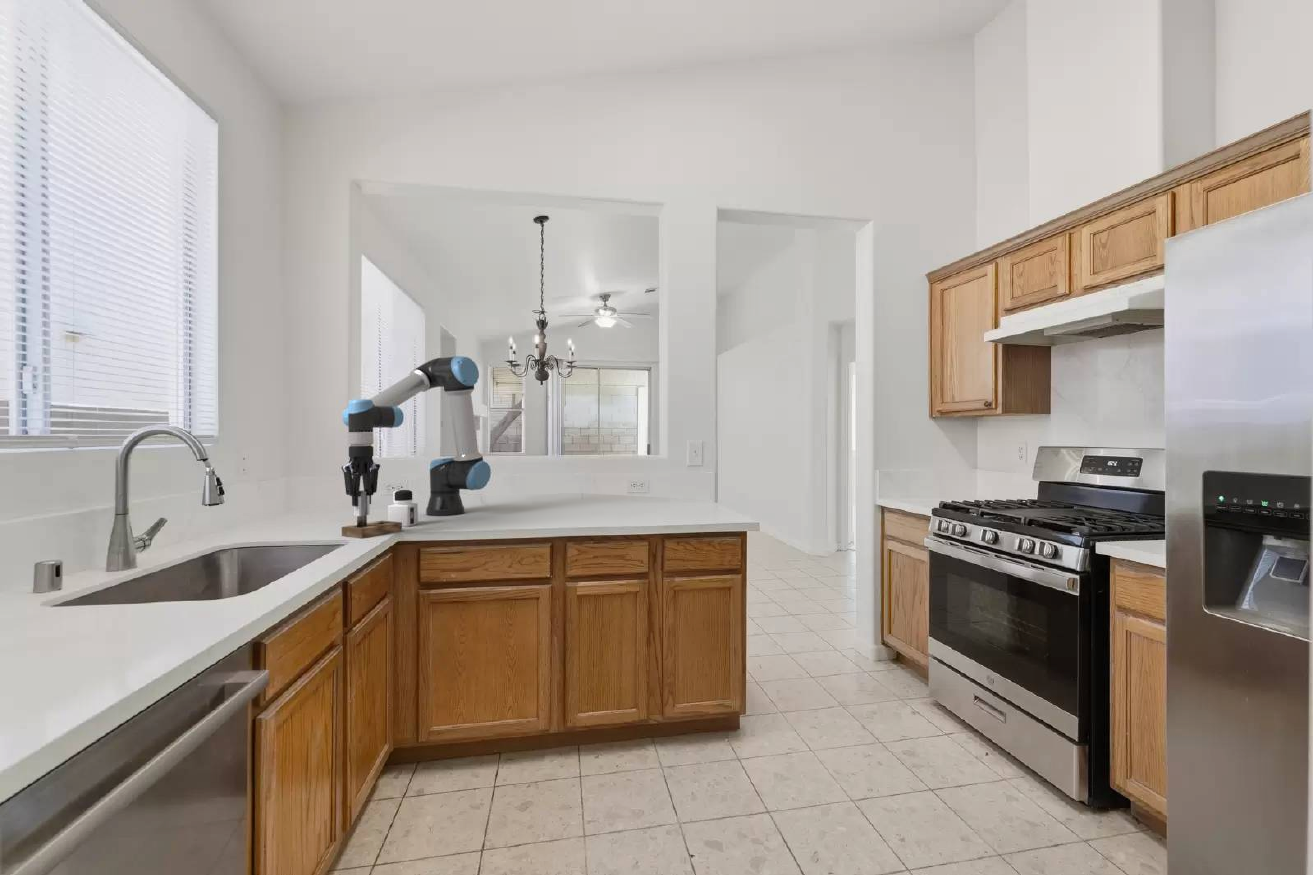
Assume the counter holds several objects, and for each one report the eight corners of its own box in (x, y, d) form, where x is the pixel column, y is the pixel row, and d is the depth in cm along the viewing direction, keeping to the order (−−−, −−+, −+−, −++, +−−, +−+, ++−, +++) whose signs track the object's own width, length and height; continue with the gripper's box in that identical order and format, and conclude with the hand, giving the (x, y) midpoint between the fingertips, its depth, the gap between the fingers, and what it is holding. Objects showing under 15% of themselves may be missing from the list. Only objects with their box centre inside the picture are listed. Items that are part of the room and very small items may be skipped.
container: (418, 523, 234) (417, 489, 234) (408, 527, 227) (407, 491, 227) (398, 523, 235) (398, 489, 235) (387, 526, 228) (387, 491, 227)
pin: (362, 525, 212) (362, 490, 212) (368, 526, 211) (368, 490, 210) (355, 526, 209) (354, 491, 209) (360, 527, 208) (360, 491, 208)
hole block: (382, 528, 223) (382, 520, 223) (402, 530, 218) (401, 522, 218) (341, 535, 209) (341, 527, 209) (361, 538, 204) (361, 529, 204)
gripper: (373, 444, 218) (374, 511, 219) (332, 445, 204) (333, 517, 205) (388, 444, 215) (389, 513, 215) (347, 446, 201) (348, 519, 201)
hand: (361, 515), depth 210 cm, fingers closed on pin, 2 cm apart
